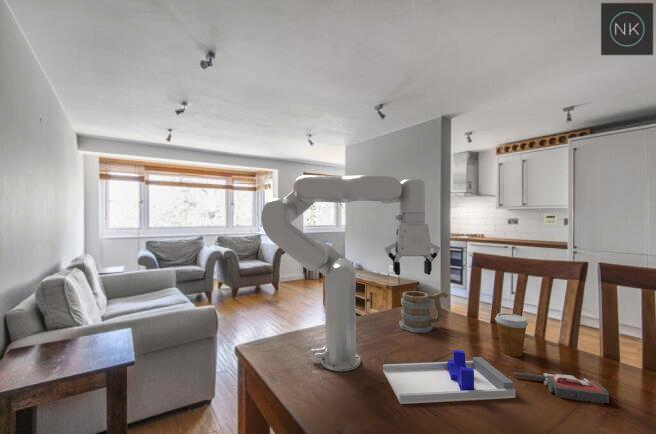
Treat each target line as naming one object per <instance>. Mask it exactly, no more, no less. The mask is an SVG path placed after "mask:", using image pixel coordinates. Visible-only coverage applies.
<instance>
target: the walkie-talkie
mask: <svg viewBox="0 0 656 434" xmlns="http://www.w3.org/2000/svg"><path fill="white" fill-rule="evenodd" d="M512 374H513V376H514V377H518V378H525V379H534V380H540V381H543V384H544V385H545V386H547V387H548V391H549V393H553V394H554V396H555V397H557V398H560V399H567V400H568V399H569V400H576V401H581V402H582V401H584V402H588V401H591V403H596V404H604V403H608V404H609V403H610V393H609V391H608V390H607V389H606V387H604V386H602V384H600V383H599V382H598V381H593V380H588V379H587V378H583V379H579V378H577V377H575V376H574V375H569V374H561V373H555V374H552V373H551V374H550V373H547V372H546V373H545V372H544V373H543V375H542V374H539V375H538V374H531V373H523V372H516V371H515V372H514V371H513V373H512Z"/></svg>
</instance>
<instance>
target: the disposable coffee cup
mask: <svg viewBox="0 0 656 434" xmlns="http://www.w3.org/2000/svg"><path fill="white" fill-rule="evenodd" d="M494 320H495V322H496V325H497V333H498V334H497V335H498V340H499V341H498V342H499V348H500V352H501V353H503V354H505V355H507V356H511V357H521V356H523V350H524V344H525V338H526V337H525V336H526V331H527V327H528V325H529V322H528V320H527V318H526V317H524V316H522V315H519V314H514V313H507V312H499V313H497V314H496V317H495V318H494Z"/></svg>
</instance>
